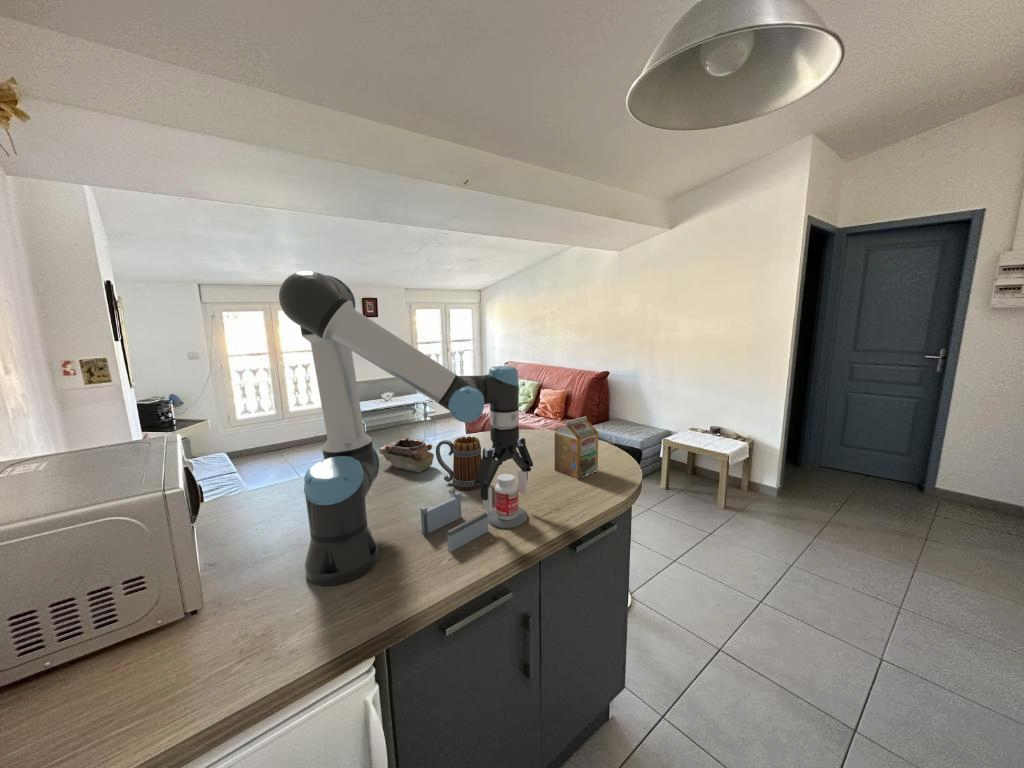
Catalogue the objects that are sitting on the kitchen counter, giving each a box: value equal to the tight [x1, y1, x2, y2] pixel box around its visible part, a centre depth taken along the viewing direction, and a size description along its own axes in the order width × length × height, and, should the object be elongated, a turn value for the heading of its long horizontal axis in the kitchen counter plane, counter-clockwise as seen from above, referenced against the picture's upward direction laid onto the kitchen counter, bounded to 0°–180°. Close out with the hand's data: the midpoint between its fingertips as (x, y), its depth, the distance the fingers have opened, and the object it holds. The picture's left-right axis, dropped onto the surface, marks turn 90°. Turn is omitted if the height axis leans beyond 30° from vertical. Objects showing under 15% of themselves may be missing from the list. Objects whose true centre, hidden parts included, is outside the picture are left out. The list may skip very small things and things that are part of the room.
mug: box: [435, 435, 482, 491], centre depth 129 cm, size 16×11×15 cm
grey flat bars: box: [420, 491, 489, 553], centre depth 100 cm, size 12×12×7 cm
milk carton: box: [554, 416, 599, 480], centre depth 136 cm, size 10×11×19 cm
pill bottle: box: [494, 473, 519, 520], centre depth 106 cm, size 6×6×11 cm
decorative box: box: [378, 437, 435, 474], centre depth 143 cm, size 13×20×10 cm, turn 57°
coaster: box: [487, 506, 528, 530], centre depth 107 cm, size 11×11×1 cm
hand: (505, 501), depth 107 cm, fingers open, 13 cm apart
